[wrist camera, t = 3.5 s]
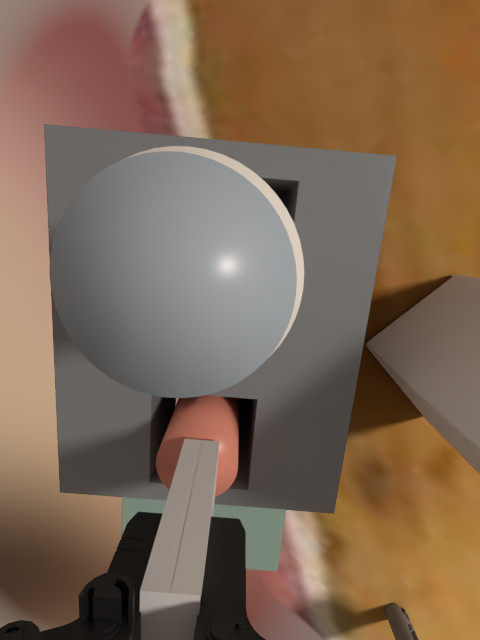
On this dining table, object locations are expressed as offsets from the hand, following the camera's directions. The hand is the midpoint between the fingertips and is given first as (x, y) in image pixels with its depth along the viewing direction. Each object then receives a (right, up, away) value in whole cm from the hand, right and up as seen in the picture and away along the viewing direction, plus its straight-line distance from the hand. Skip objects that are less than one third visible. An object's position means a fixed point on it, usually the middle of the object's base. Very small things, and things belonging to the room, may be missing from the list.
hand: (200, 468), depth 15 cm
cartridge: (+1, +11, +7) cm, 13 cm away
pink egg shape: (0, +2, +8) cm, 8 cm away
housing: (0, +7, +8) cm, 10 cm away
